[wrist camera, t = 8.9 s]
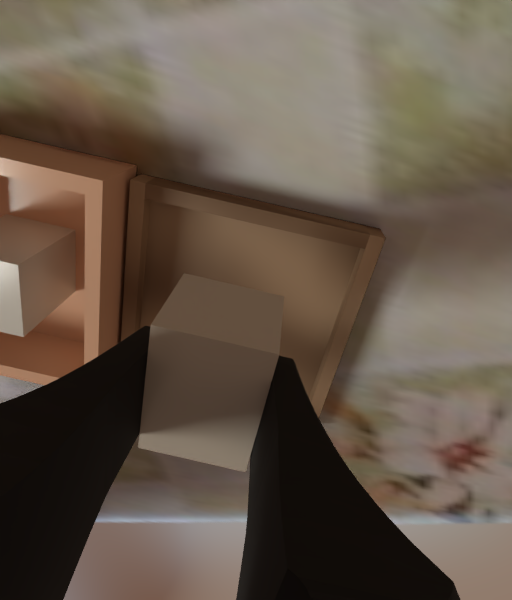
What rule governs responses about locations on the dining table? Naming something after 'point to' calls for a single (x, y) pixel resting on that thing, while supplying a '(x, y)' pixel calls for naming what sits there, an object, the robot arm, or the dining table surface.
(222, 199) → the tray
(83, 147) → the dining table surface
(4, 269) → the stone grey
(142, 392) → the robot arm
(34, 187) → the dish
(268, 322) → the stone beige
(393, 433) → the dining table surface
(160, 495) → the dining table surface
